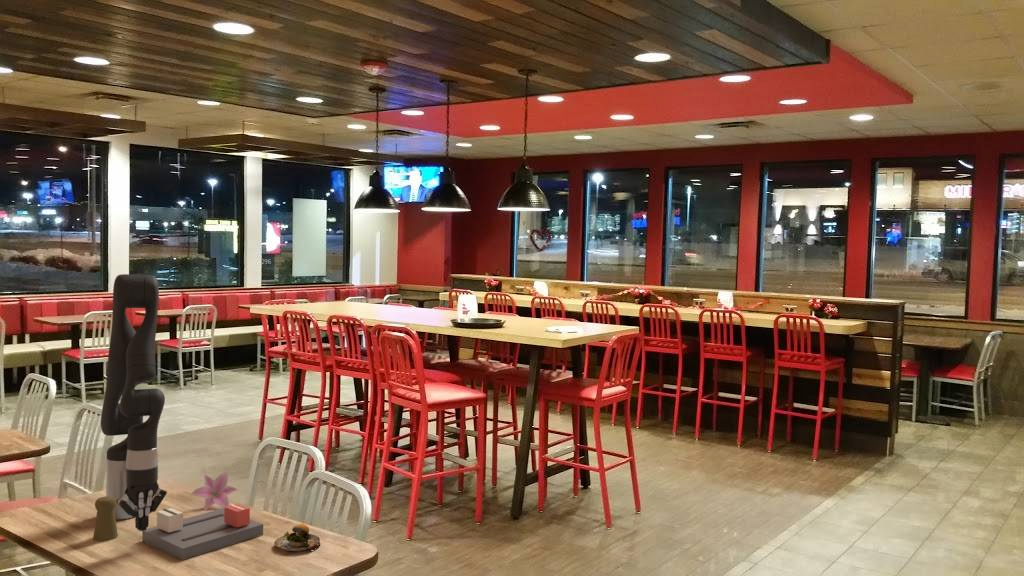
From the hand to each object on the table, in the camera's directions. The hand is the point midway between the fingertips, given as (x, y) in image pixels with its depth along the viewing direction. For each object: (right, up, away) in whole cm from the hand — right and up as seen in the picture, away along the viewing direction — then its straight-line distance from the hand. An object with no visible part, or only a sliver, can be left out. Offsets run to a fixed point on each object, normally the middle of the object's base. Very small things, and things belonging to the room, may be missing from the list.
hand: (141, 529), depth 208 cm
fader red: (+21, -2, +11) cm, 24 cm away
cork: (-13, -5, +7) cm, 16 cm away
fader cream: (+5, -1, +6) cm, 8 cm away
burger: (+40, -6, +5) cm, 41 cm away
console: (+13, -5, +9) cm, 16 cm away
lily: (+6, -4, +36) cm, 36 cm away
